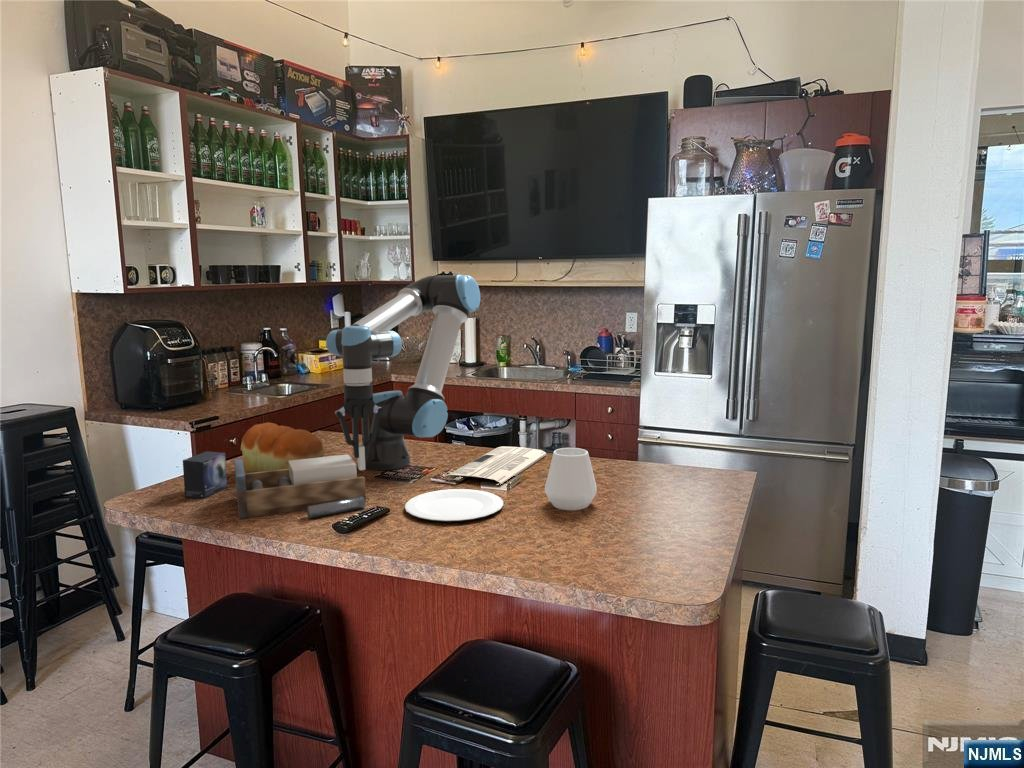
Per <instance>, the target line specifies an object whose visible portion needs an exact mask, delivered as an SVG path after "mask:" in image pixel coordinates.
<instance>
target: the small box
mask: <svg viewBox="0 0 1024 768" xmlns="http://www.w3.org/2000/svg"><path fill="white" fill-rule="evenodd" d="M226 464H227V463H226V452H219V451H207V450H206V451H204V452H201V453H199V454H196V455H194V456H190V457H188V458H185V459H183V460H182V469H183V483H184V498H191V499H192V498H194V499H206V498H208V497H210V496H212V495H215V494H216V493H219V492H221V491H223V490H225V489H228V484H227V483H228V481H227V480H228V479H227V465H226Z"/></svg>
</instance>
